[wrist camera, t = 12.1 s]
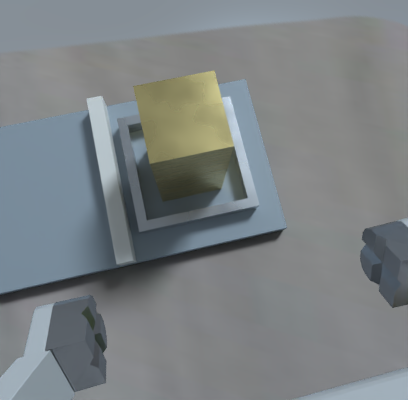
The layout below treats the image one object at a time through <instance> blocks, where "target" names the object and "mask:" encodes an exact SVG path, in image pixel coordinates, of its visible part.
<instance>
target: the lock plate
mask: <svg viewBox="0 0 408 400" xmlns="http://www.w3.org/2000/svg"><path fill="white" fill-rule="evenodd" d="M218 86H219V90H220V94H221V98H223V97H228V96H230V97H231V101H232V104H233V108H234V112H235V116H236V119H237V123H238V127H239V131H240V134H241V138H242V142H243V145H244V149H245V153H246V157H247V160H248V164H249V168H250V172H251V175H252V179H253V183H254V186H255V190H256V194H257V198H258V201H259V206H258V208H257V209H254V210H249V211H245V212H241V213H236V214H232V215H227V216H223V217H218V218H214V219H209V220H205V221H200V222H196V223H191V224H187V225H182V226H178V227H174V228H169V229H165V230H160V231H156V232H151V233H147V234H141V233H140V232H139V228H138V223H137V218H136V213H135V208H134V203H133V198H132V193H131V188H130V183H129V178H128V172H127V167H126V162H125V157H124V152H123V147H122V142H121V137H120V132H119V127H118V122H117V119H118V118H123V117H128V116H133V115H138V114H139V111H138V106H137V101H131V102H126V103H121V104H116V105H111V106H106V104H105V102H104V100H103V97H102V96H99V97H94V98H88V99H87V104H88V109H89V110H86V111H80V112H75V113H70V114H65V115H60V116H55V117H50V118H45V119H40V120H35V121H29V122H24V123H19V124H14V125H9V126H4V127H0V295H2V294H6V293H10V292H15V291H19V290H24V289H28V288H32V287H37V286H41V285H45V284H50V283H54V282H58V281H63V280H67V279H71V278H76V277H80V276H84V275H89V274H93V273H98V272H102V271H106V270H111V269H115V268H119V267H124V266H128V265H132V264H137V263H141V262H145V261H150V260H154V259H159V258H163V257H167V256H172V255H176V254H180V253H185V252H189V251H193V250H198V249H202V248H206V247H211V246H215V245H220V244H224V243H228V242H233V241H237V240H241V239H246V238H250V237H254V236H259V235H263V234H267V233H272V232H276V231H280V230H284V229H286V228H287V226H286V222H285V218H284V215H283V211H282V208H281V204H280V201H279V197H278V194H277V190H276V186H275V183H274V179H273V176H272V172H271V169H270V165H269V161H268V158H267V154H266V151H265V147H264V144H263V140H262V136H261V133H260V129H259V126H258V122H257V119H256V115H255V112H254V108H253V104H252V101H251V97H250V94H249V90H248V87H247V83H246V79H244V80H239V81H233V82H228V83H223V84H218ZM131 137H132V142H133V147H134V152H135V157H136V162H137V167H138V172H139V177H140V182H141V187H142V192H143V196H144V201H145V206H146V211H147V216H148V220H151V219H156V218H161V217H165V216H170V215H174V214H179V213H183V212H188V211H192V210H197V209H201V208H206V207H210V206H215V205H219V204H224V203H228V202H233V201H237V200H242V199H244V195H243V191H242V187H241V183H240V179H239V176H238V172H237V168H236V164H235V160H234V156H233V153H232V155H231V159H230V162H229V165H228V169H227V172H226V176H225V179H224V182H223V186H222V189H219V190H215V191H210V192H205V193H201V194H196V195H192V196H187V197H182V198H178V199H173V200H169V201H164V202H163V201H162V198H161V195H160V192H159V189H158V187H157V184H156V181H155V178H154V175H153V172H152V169H151V166H150V163H149V158H148V153H147V149H146V144H145V139H144V134H143V130H139V131H135V132H131Z"/></svg>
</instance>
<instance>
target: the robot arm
mask: <svg viewBox="0 0 408 400" xmlns="http://www.w3.org/2000/svg"><path fill="white" fill-rule="evenodd" d="M362 240H363V241H364V242H365V244H366V245H365V246H364V247H363V249H362V250H361V254H360V261H361V265H362V268H363V270H364V272H365V274H366V276H367V277H368V278H369V280H370V281H372V282H375V283H377V284H379V292H380V293H381V295H382V296H383V297H384V298H385V300H386V301H387V302H388V303H389V305H390V306H391V307H392V308H394V307H399V306H403V305H407V304H408V218H405V219H401V220H397V221H394V222H390V223H386V224H382V225H378V226H374V227H370V228H366V229H365V230H364V232H363V235H362ZM106 348H107V336H106V329H105V325H104V321H103V318H102V316H101V314H99V313H97V312H96V302H95V300H94V298H93V296H91V295H88V296H83V297H79V298H74V299H70V300H65V301H60V302H56V303H53V304H48V305H44V306H39V307H37V308H36V309H35V310H34V312H33V317H32V321H31V325H30V329H29V333H28V338H27V342H26V346H25V350H24V354H23V357H21V358H17V359H16V361H15V362H14V363H13V364H12V365H11V366H10V367H9V369H8V370H7V371H6V372H5V373H4V374H3V375H2V377H1V378H0V400H72V398H73V396H74V395H75V393H74V392H76V391H80V390H83V389H87V388H90V387H93V386H97V385H100V384H104V383H106V359H105V357H104V355H103V352H104V351H105V349H106ZM291 400H408V367H406V368H403V369H399V370H395V371H392V372H388V373H385V374H381V375H377V376H374V377H370V378H367V379H363V380H360V381H356V382H352V383H349V384H345V385H342V386H338V387H334V388H331V389H327V390H324V391H320V392H316V393H313V394H309V395H306V396H302V397H298V398H295V399H291Z"/></svg>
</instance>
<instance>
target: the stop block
mask: <svg viewBox="0 0 408 400" xmlns="http://www.w3.org/2000/svg"><path fill="white" fill-rule="evenodd" d="M133 87H134V92H135V96H136V101H137V106H138V111H139V115H140V120H141V125H142V130H143V134H144V139H145V144H146V149H147V153H148V158H149V163H150V166H151V169H152V172H153V175H154V178H155V181H156V184H157V187H158V189H159V192H160V195H161V198H162V201H163V202H164V201H169V200H173V199H178V198H182V197H187V196H192V195H196V194H201V193H205V192H210V191H215V190H219V189H222V186H223V182H224V179H225V176H226V172H227V169H228V165H229V162H230V159H231V155H232V152H233V148H234V143H233V140H232V136H231V132H230V128H229V124H228V121H227V117H226V113H225V109H224V105H223V102H222V98H221V94H220V90H219V86H218V83H217V79H216V75H215V71H209V72H204V73H199V74H194V75H189V76H183V77H178V78H173V79H168V80H163V81H157V82H152V83H147V84H142V85H137V86H133Z"/></svg>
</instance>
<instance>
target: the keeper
mask: <svg viewBox="0 0 408 400" xmlns="http://www.w3.org/2000/svg"><path fill="white" fill-rule="evenodd" d="M222 102H223V105H224V109H225V113H226V117H227V121H228V124H229V128H230V132H231V136H232V140H233V143H234V148H233V152H232V153H233V156H234V160H235V164H236V168H237V172H238V176H239V179H240V183H241V187H242V191H243V195H244V199H242V200H237V201H233V202H228V203H224V204H219V205H215V206H210V207H206V208H201V209H197V210H192V211H188V212H183V213H179V214H174V215H170V216H165V217H161V218H156V219H151V220H148V216H147V211H146V206H145V201H144V196H143V192H142V187H141V182H140V177H139V172H138V167H137V162H136V157H135V152H134V147H133V142H132V137H131V132H135V131H139V130H142V125H141V120H140V115H139V114H138V115H133V116H128V117H123V118H118V119H117V122H118V127H119V132H120V137H121V142H122V147H123V152H124V157H125V162H126V167H127V172H128V178H129V183H130V188H131V193H132V198H133V203H134V208H135V213H136V218H137V223H138V228H139V232H140V233H141V234H147V233H151V232H156V231H160V230H165V229H169V228H174V227H178V226H182V225H187V224H191V223H196V222H200V221H205V220H209V219H214V218H218V217H223V216H227V215H232V214H236V213H241V212H245V211H249V210H254V209H257V208H258V206H259V201H258V198H257V194H256V190H255V186H254V183H253V179H252V175H251V172H250V168H249V164H248V160H247V157H246V153H245V149H244V145H243V142H242V138H241V134H240V131H239V127H238V123H237V119H236V116H235V112H234V108H233V104H232V101H231V97H230V96H228V97H223V98H222Z"/></svg>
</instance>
